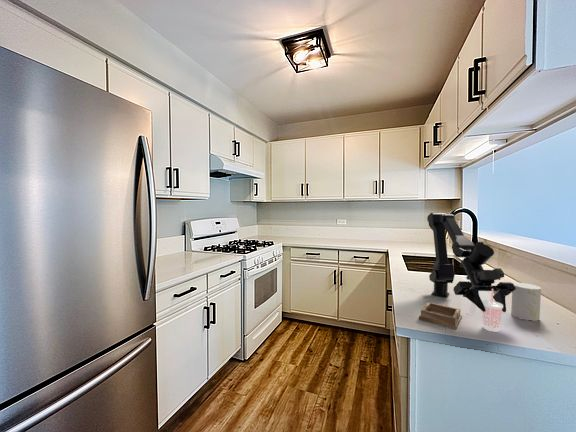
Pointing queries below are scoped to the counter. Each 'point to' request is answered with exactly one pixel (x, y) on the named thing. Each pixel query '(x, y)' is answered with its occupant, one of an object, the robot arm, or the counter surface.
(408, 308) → the counter surface
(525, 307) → the grey upright cylinder
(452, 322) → the tray
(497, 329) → the beverage cup
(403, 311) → the counter surface
